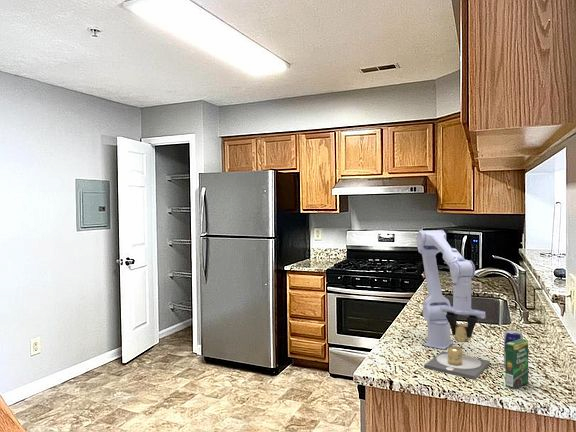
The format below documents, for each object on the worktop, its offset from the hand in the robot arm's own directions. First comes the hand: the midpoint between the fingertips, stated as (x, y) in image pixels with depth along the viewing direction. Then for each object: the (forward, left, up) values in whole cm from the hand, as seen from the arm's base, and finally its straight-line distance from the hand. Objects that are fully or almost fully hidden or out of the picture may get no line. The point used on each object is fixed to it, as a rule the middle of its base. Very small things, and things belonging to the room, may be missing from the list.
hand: (461, 336), depth 152 cm
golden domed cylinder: (+7, 0, -7) cm, 10 cm away
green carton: (+9, +19, -9) cm, 23 cm away
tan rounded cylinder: (0, 0, -1) cm, 1 cm away
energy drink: (-5, +15, -9) cm, 18 cm away
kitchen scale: (+4, 0, -9) cm, 10 cm away
